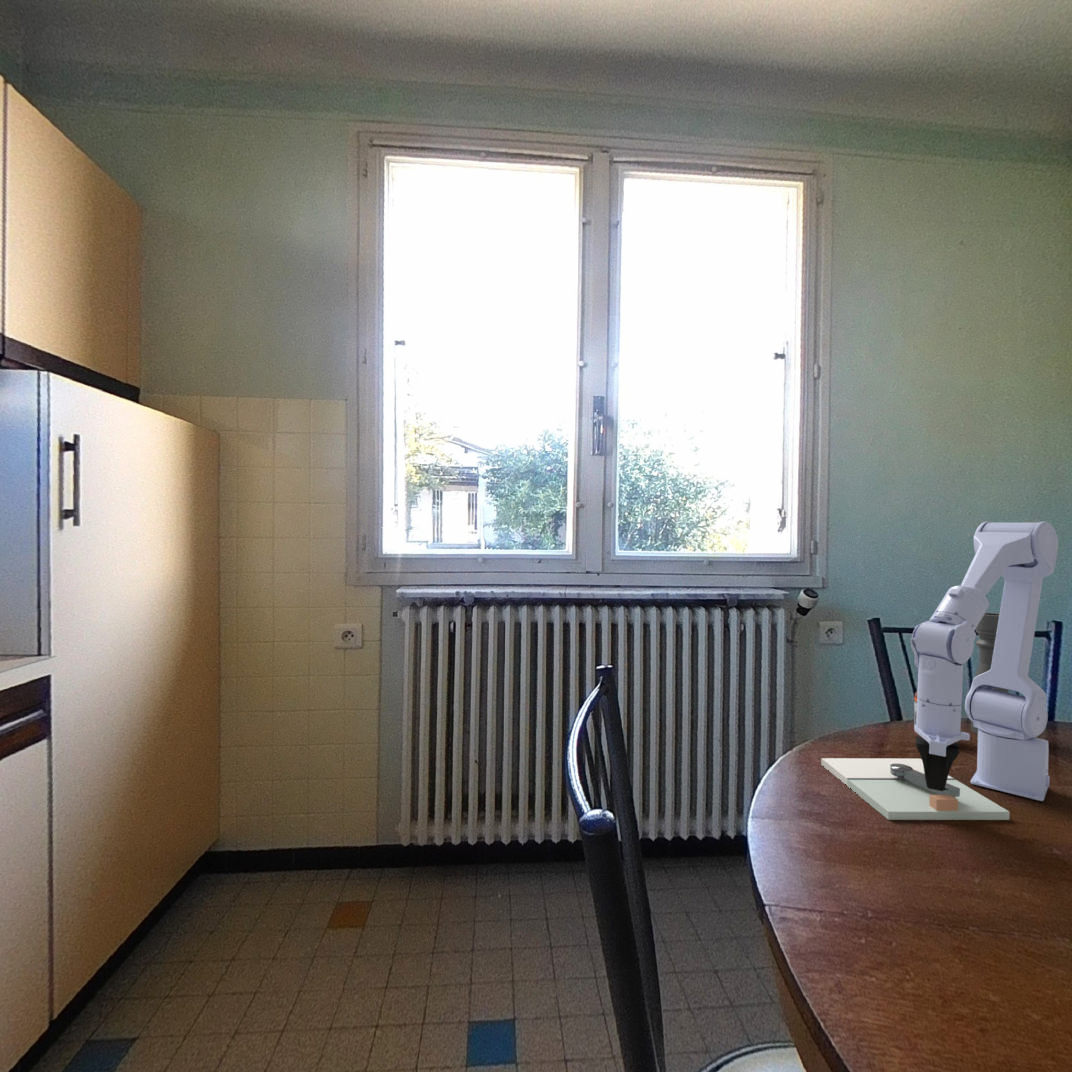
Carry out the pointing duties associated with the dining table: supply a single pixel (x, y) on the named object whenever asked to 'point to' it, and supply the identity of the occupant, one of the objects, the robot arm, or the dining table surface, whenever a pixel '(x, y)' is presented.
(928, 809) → the plate
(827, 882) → the dining table surface
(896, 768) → the bar
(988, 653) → the candle holder
